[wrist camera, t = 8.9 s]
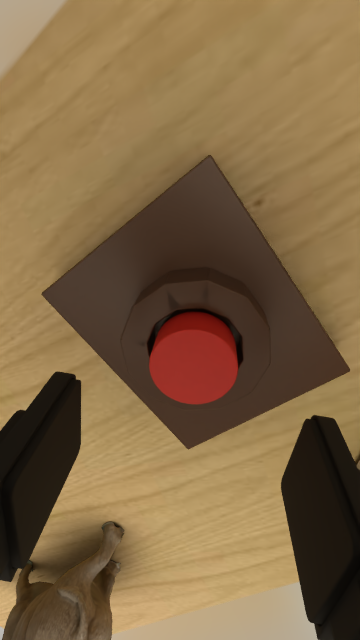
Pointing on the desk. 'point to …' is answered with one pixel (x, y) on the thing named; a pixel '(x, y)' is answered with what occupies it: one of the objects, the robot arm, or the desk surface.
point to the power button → (194, 358)
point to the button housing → (198, 304)
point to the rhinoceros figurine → (68, 599)
